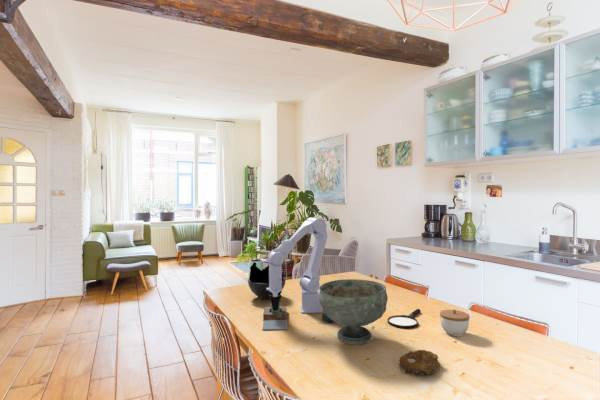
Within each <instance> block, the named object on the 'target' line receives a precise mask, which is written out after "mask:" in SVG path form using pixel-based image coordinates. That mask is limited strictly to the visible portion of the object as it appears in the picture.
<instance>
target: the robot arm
mask: <svg viewBox="0 0 600 400" xmlns="http://www.w3.org/2000/svg"><path fill="white" fill-rule="evenodd" d="M327 225H328V224H327V223H326V221H325V220H324V219H323V218H320V217H318V218H317V217H313V216H312V217H311V216H309V217H308V218H307V219H306V220H304V221H303V222H302V224H301V226H299V228H297V230H296V231H295V232H294V233H293V234H292V235H291V236H290V237H289V239H284V240H281V242H280V244H279V245H278V246H277V247H276V248H274V249H273V251H271V252H269V253H268V255H267V257H266V261H267V262H268V265H269V288H267V290H269V292H270V294H271V295H269V298H268V299H270V304H271V303H272V308H273V311H278V307H279V301H280V302H281V299H282V291H283V289H282V273H283V272H282V271H283V270H282V265H283V263H284V262H285V261H284V260H285V258H287V256H288V255H289V254H290V253H291V252H292V251H293V250H294V249H295V244H297V243H298V242H299V241H300V240H301V239H302V238H303V237H304V236H306V234H311V233H312V235H313V237H314V238H315V239H314V241H313V247H312V250H311V253H310V257H309V262H308V266H307V269H306V270H305V271H304V272H303V275H302V276H301V278H300V279H299V286H300V288H301V306H300V312H301V313H302V314H309V313H311V314H313V313H314V314H315V313H316V314H317V313H323V309H322V307H321V304H320V301H319V295H320V290H319V287H320V286H321V285H320V279H321V278H320V275H319V270H320V267H321V263H322V259H323V256H324V252H325V249H326V244H327V240H328V232H327Z"/></svg>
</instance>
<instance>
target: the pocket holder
mask: <svg viewBox="0 0 600 400" xmlns="http://www.w3.org/2000/svg"><path fill="white" fill-rule="evenodd" d="M262 319H263V320H262V321H264V320H287V321H288V306H280V312H271V306H264V309H263V317H262Z"/></svg>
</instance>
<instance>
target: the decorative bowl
mask: <svg viewBox="0 0 600 400" xmlns="http://www.w3.org/2000/svg"><path fill="white" fill-rule="evenodd" d="M318 291H319V292H320V295H319V301H320V304H321V307H322V312H323V313H325V314H326V315H327V316H328V318H330V319H331V320H333V321H334V322H333V323H336V324H338V325H342V327H341V328H339V330H338V331H337V332H336V333H337V339H338V340H339V341H340V342H342V343H345V344H348V345H349V344H350V345H364V344H367V343H369V342H371V341H372V340H373V334H372V332H371V331H370V330H369V329H367V328H365V326H368V325H371V324H372V323H375V322H376V321H378V320H379V319H382V317H383V316H384V314H385V313H386V311H387V305H388V299H389V298H388V292H387V286H386V284H383V283H381V282H378V281H374V280H369V279H359V278H358V279H357V278H354V279H353V278H351V279H348V278H347V279H346V278H345V279H335V280H331V281H327V282H324V283H322V284H321V285H320V287H319V290H318Z"/></svg>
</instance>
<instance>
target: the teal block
mask: <svg viewBox="0 0 600 400" xmlns="http://www.w3.org/2000/svg"><path fill="white" fill-rule="evenodd" d="M270 307H271V312H280V307H281V300H280V301H279V307H278V311H273V308H272V303H271V302H270Z"/></svg>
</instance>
